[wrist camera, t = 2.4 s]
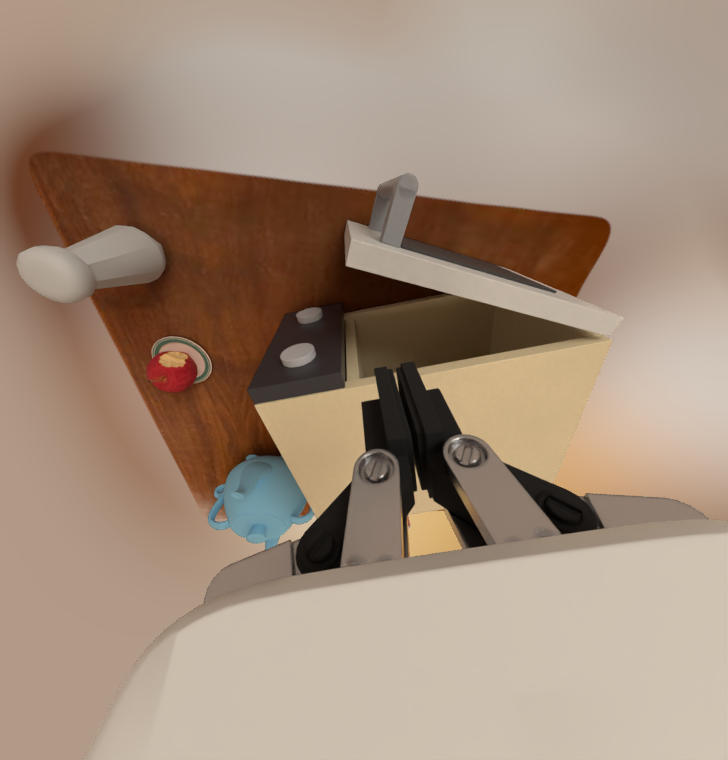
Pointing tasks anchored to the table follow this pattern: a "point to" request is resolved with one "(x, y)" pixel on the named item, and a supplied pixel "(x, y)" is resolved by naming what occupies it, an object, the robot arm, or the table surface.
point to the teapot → (260, 500)
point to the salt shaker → (92, 264)
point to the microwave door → (456, 266)
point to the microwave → (437, 370)
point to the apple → (177, 364)
